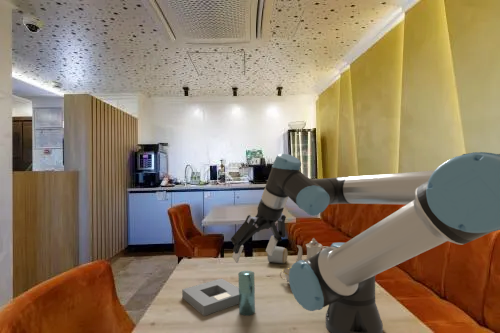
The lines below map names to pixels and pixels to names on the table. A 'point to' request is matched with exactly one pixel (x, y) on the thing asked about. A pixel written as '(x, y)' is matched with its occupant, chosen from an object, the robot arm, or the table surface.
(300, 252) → the chinaware
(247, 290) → the teal cylinder
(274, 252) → the ceramic mug
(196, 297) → the socket block
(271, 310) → the table surface
